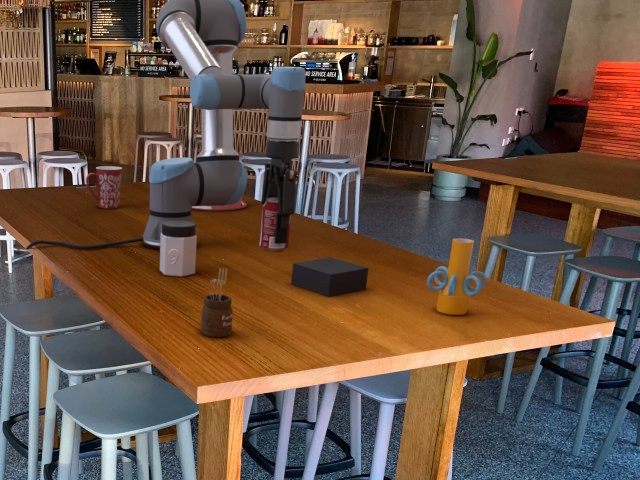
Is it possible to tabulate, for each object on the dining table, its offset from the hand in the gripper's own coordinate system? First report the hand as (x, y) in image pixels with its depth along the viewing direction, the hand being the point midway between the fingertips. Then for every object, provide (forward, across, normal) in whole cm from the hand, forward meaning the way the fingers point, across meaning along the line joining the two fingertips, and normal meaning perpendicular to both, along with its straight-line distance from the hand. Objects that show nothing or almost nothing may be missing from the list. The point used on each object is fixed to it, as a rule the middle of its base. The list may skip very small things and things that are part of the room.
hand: (274, 239), depth 189 cm
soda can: (+3, 0, 0) cm, 3 cm away
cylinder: (+8, -36, -26) cm, 45 cm away
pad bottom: (+9, -12, -9) cm, 18 cm away
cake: (+11, +97, -16) cm, 99 cm away
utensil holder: (+8, -40, +27) cm, 49 cm away
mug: (+11, +99, +23) cm, 103 cm away
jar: (+9, +6, +22) cm, 25 cm away
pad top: (+6, -12, -9) cm, 17 cm away
